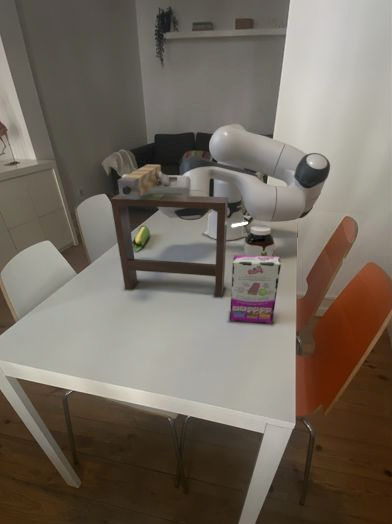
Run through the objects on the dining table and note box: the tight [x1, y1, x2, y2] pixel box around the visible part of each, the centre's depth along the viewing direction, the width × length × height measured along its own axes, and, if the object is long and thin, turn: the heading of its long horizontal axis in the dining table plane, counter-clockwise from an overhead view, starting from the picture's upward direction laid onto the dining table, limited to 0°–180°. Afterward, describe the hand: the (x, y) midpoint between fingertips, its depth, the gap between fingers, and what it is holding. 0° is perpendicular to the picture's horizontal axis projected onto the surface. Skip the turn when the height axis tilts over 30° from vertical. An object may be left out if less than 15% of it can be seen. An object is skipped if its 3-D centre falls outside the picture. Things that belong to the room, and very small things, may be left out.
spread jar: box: [243, 224, 276, 256], centre depth 113 cm, size 12×11×12 cm
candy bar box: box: [229, 254, 282, 325], centre depth 80 cm, size 11×5×16 cm, turn 82°
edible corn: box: [132, 225, 151, 252], centre depth 129 cm, size 5×20×5 cm, turn 178°
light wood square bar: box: [117, 164, 162, 200], centre depth 81 cm, size 23×4×4 cm, turn 169°
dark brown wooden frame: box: [110, 193, 228, 298], centre depth 90 cm, size 6×30×26 cm, turn 79°
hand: (148, 174), depth 85 cm, fingers closed on light wood square bar, 4 cm apart
